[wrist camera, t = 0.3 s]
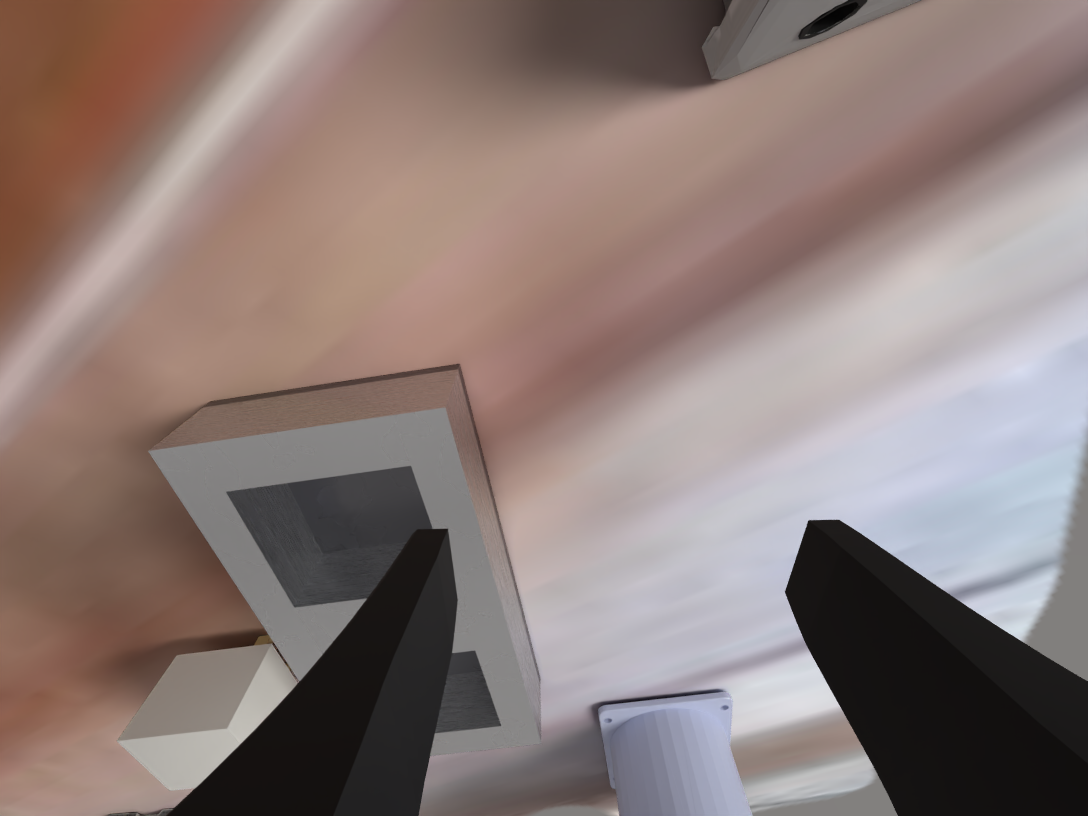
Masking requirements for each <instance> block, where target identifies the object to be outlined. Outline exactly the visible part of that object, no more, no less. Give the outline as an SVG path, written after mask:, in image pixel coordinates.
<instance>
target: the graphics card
mask: <svg viewBox="0 0 1088 816" xmlns="http://www.w3.org/2000/svg"><path fill="white" fill-rule="evenodd" d="M172 810H173V809H163V810H162V811H161V812H160V813H159V814H152V815H139V814H138V813H122V814H109V815H108V816H166V815H167V814H168V813H169V812H170V811H172Z"/></svg>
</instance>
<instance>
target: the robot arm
mask: <svg viewBox="0 0 1088 816" xmlns="http://www.w3.org/2000/svg"><path fill="white" fill-rule="evenodd" d="M785 594H786V596H787V599H788V601H789V604H790V606H791V609H792V612H793V614H794V617H795V619H796V622H797V624H798V627H799V629H800V631H801V634H802V636H803V638H804V641H805V643H806V645H807V647H808V649H809V651H810V652H811V654H812V656H813V658H814V660H815V662H816V663H817V665H818V667H819V669H820V671H821V673H822V674H823V676H824V678H825V680H826V682H827V684H828V685H829V687H830V689H831V691H832V693H833V694H834V696H835V698H836V700H837V702H838V703H839V705H840V707H841V709H842V711H843V712H844V714H845V716H846V718H847V720H848V721H849V723H850V725H851V727H852V729H853V730H854V732H855V734H856V736H857V737H858V739H859V741H860V743H861V745H862V746H863V748H864V750H865V752H866V754H867V755H868V757H869V759H870V761H871V763H872V764H873V766H874V768H875V770H876V772H877V774H878V776H879V778H880V780H881V781H882V784H883V786H884V788H885V790H886V791H887V793H888V795H889V797H890V800H891V802H892V804H893V806H894V808H895V811H896V813H897V815H898V816H1088V681H1086V680H1084V679H1082V678H1081V677H1079V676H1077V675H1076V674H1074V673H1072V672H1071V671H1069V670H1067V669H1066V668H1064V667H1062V666H1061V665H1059V664H1057V663H1055V662H1054V661H1052V660H1051V659H1049V658H1047V657H1046V656H1044V655H1042V654H1041V653H1039V652H1038V651H1036V650H1034V649H1033V648H1031V647H1030V646H1028V645H1027V644H1025V643H1023V642H1022V641H1020V640H1019V639H1017V638H1015V637H1014V636H1012V635H1011V634H1009V633H1007V632H1006V631H1004V630H1003V629H1001V628H999V627H998V626H996V625H995V624H993V623H992V622H990V621H989V620H987V619H986V618H984V617H983V616H981V615H979V614H978V613H976V612H975V611H973V610H972V609H970V608H969V607H967V606H966V605H964V604H963V603H961V602H960V601H958V600H957V599H955V598H954V597H952V596H951V595H949V594H948V593H947V592H945V591H944V590H942V589H941V588H939V587H938V586H936V585H935V584H933V583H932V582H930V581H929V580H927V579H926V578H925V577H923V576H922V575H920V574H919V573H917V572H916V571H914V570H913V569H911V568H910V567H909V566H907V565H906V564H904V563H903V562H901V561H900V560H898V559H897V558H896V557H894V556H893V555H891V554H890V553H888V552H887V551H885V550H884V549H882V548H881V547H880V546H878V545H877V544H875V543H874V542H872V541H871V540H869V539H868V538H866V537H865V536H863V535H862V534H860V533H859V532H857V531H856V530H854V529H853V528H851V527H850V526H848V525H846V524H845V523H843V522H842V521H840V520H809V521H808V524H807V527H806V530H805V533H804V536H803V539H802V542H801V545H800V548H799V551H798V554H797V557H796V560H795V563H794V566H793V569H792V572H791V575H790V578H789V581H788V584H787V588H786V591H785ZM457 604H458V598H457V591H456V583H455V576H454V568H453V561H452V554H451V546H450V539H449V532H448V529H417V530H416V531H415V532H414V533H413V534H412V535H411V537H410V538H409V540H408V541H407V543H406V544H405V546H404V547H403V549H402V550H401V552H400V553H399V555H398V556H397V558H396V559H395V561H394V562H393V563H392V565H391V566H390V568H389V569H388V571H387V572H386V573H385V575H384V576H383V578H382V579H381V580H380V582H379V583H378V585H377V586H376V587H375V589H374V590H373V591H372V593H371V594H370V595H369V597H368V598H367V599H366V601H365V602H364V603H363V605H362V606H361V607H360V609H359V610H358V611H357V612H356V614H355V615H354V616H353V618H352V619H351V620H350V622H349V623H348V624H347V625H346V627H345V628H344V629H343V630H342V632H341V633H340V634H339V635H338V637H337V638H336V639H335V640H334V641H333V643H332V644H331V645H330V646H329V647H328V649H327V650H326V651H325V652H324V653H323V655H322V656H321V657H320V658H319V659H318V661H317V662H316V663H315V664H314V665H313V667H312V668H311V669H310V670H309V671H308V672H307V674H306V675H305V676H304V677H303V678H302V679H301V680H300V681H299V683H298V684H297V685H296V686H295V687H294V688H293V689H292V690H291V692H290V693H289V694H288V695H287V696H286V697H285V698H284V699H283V700H282V701H281V702H280V704H279V705H278V706H277V707H276V708H275V709H274V710H273V711H272V712H271V713H270V714H269V715H268V716H267V717H266V718H265V719H264V720H263V722H262V723H261V724H260V725H259V726H258V727H257V728H256V729H255V730H254V731H253V732H252V733H251V734H250V735H249V736H248V737H247V738H246V739H245V740H244V741H243V742H242V743H241V744H240V745H239V746H238V747H237V748H236V749H235V750H234V751H233V752H232V753H231V754H230V755H229V756H228V757H227V758H226V759H225V760H224V761H223V762H222V763H221V764H220V765H219V766H218V767H217V768H216V769H215V770H214V771H213V772H212V773H211V774H210V775H209V776H208V777H207V778H206V779H205V780H203V781H202V782H201V783H200V784H199V785H198V786H197V787H196V788H195V789H194V790H193V791H192V792H191V793H190V794H189V795H188V796H187V797H186V798H184V799H183V800H182V801H181V802H180V803H179V804H178V805H177V806H176V807H175V808H174V809H173V810H172V811H170V812H169V813H168V814H167V815H166V816H418V815H419V809H420V803H421V798H422V792H423V787H424V781H425V776H426V772H427V767H428V763H429V758H430V753H431V749H432V744H433V740H434V735H435V730H436V726H437V721H438V717H439V712H440V707H441V703H442V698H443V693H444V689H445V684H446V679H447V675H448V670H449V665H450V660H451V656H452V650H453V641H454V632H455V623H456V613H457ZM732 706H733V700H732V697H731V695H730V694H729V693H727V692H717V693H708V694H699V695H690V696H682V697H673V698H664V699H655V700H646V701H637V702H628V703H619V704H610V705H603V706H601V707H600V708H599V709H598V715H599V721H600V727H601V733H602V739H603V745H604V750H605V756H606V762H607V768H608V774H609V780H610V786H611V787H612V788H613V789H616V794H617V802H618V809H619V816H752V813H751V810H750V806H749V803H748V800H747V797H746V794H745V791H744V788H743V785H742V782H741V779H740V776H739V773H738V770H737V767H736V764H735V761H734V758H733V755H732V752H731V749H730V738H731V722H732Z"/></svg>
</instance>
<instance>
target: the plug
mask: <svg viewBox="0 0 1088 816" xmlns="http://www.w3.org/2000/svg"><path fill="white" fill-rule="evenodd" d="M272 644H273V641H272V639H271V638H270V636H269V635H265V636H259V637H258V639H257V641H256V642H255V644H254V646H247V647H239V648H231V649H223V650H214V651H206V652H198V653H190V654H182V655H177V656H176V657H175V658H174V660H173V661H172V663H171V664H170V666H169V667H168V668H167V670H166V671H165V673H164V674H163V676H162V677H161V678H160V680H159V681H158V683H157V684H156V686H155V687H154V688H153V690H152V691H151V693H150V694H149V696H148V697H147V698H146V700H145V701H144V703H143V704H142V706H141V707H140V709H139V710H138V711H137V713H136V714H135V716H134V717H133V719H132V720H131V721H130V723H129V724H128V726H127V727H126V729H125V730H124V731H123V733H122V734H121V736H120V737H119V739H118V740H117V742H118V743H119V744H120V745H121V746H122V747H124V748H125V749H126V750H127V751H128V752H129V753H130V754H131V755H132V756H133V757H134V758H135V759H136V760H137V761H138V762H139V763H141V764H142V765H143V766H144V767H145V768H146V769H147V770H148V771H149V772H150V773H151V774H152V775H153V776H154V777H155V778H157V779H158V780H159V781H160V782H161V783H162V784H163V785H164V786H165V787H166V788H167V789H168V790H169V791H173V790H182V789H192V788H196V787H197V786H198V785H199V784H200V783H201V782H202V781H203V780H205V779H206V778H207V777H208V776H209V775H210V774H211V773H212V772H213V771H214V770H215V769H216V768H217V767H218V766H219V765H220V764H221V763H222V762H223V761H224V760H225V759H226V758H227V757H228V756H229V755H230V754H231V753H232V752H233V751H234V750H235V749H236V748H237V747H238V746H239V745H240V744H241V743H242V742H243V741H244V740H245V739H246V738H247V737H248V736H249V735H250V734H251V733H252V732H253V731H254V730H255V729H256V728H257V727H258V726H259V725H260V724H261V723H262V722H263V720H264V719H265V718H266V717H267V716H268V715H269V714H270V713H271V712H272V711H273V710H274V709H275V708H276V707H277V706H278V705H279V704H280V702H281V701H282V700H283V699H284V698H285V697H286V696H287V695H288V694H289V693H290V692H291V690H292V689H293V688H294V687H295V686H296V685H297V684H298V683H297V681H296V680H295V678H294V677H293V675H292V673H291V672H290V671H291V668H290V666H289V665H288V663H284V661H283V660H282V658H281V657H280V655H279V654H278V652H277V651H276V649H275V648H274V646H273V645H272Z"/></svg>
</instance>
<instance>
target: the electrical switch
mask: <svg viewBox="0 0 1088 816" xmlns="http://www.w3.org/2000/svg"><path fill="white" fill-rule="evenodd" d="M918 1H921V0H723V2H724V6H725V10H726V15H725V17H724V19H723V21H722V23H721V25H720V26H716V27H713V29H712V30H711V32H710V34H709V36H708V37H707V39H706V41H705V42H704V44H703V46H702V50H703V53H704V56H705V59H706V62H707V65H708V69H709V72H710V75H711V78H712V79H718V80H726V79H728V78H731V77H734V76H736V75H739V74H741V73H744V72H746V71H748V70H751V69H753V68H756V67H758V66H761V65H763V64H766V63H768V62H771V61H773V60H775V59H778V58H780V57H783V56H785V55H788V54H790V53H793V52H795V51H798V50H800V49H803V48H805V47H807V46H810V45H812V44H815V43H817V42H820V41H822V40H825V39H827V38H830V37H832V36H835V35H837V34H839V33H842V32H844V31H847V30H849V29H852V28H854V27H857V26H859V25H862V24H864V23H866V22H869V21H871V20H874V19H876V18H879V17H881V16H884V15H886V14H889V13H891V12H894V11H896V10H898V9H901V8H903V7H906V6H908V5H911V4H913V3H916V2H918Z"/></svg>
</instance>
